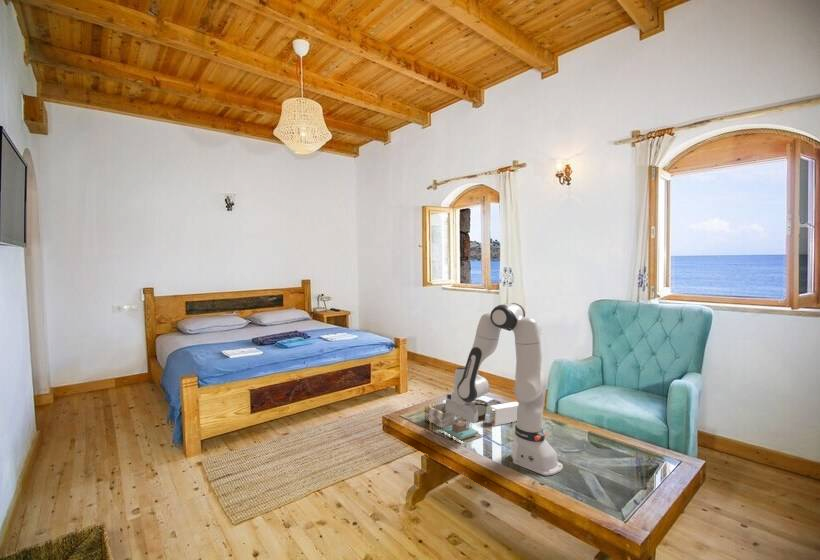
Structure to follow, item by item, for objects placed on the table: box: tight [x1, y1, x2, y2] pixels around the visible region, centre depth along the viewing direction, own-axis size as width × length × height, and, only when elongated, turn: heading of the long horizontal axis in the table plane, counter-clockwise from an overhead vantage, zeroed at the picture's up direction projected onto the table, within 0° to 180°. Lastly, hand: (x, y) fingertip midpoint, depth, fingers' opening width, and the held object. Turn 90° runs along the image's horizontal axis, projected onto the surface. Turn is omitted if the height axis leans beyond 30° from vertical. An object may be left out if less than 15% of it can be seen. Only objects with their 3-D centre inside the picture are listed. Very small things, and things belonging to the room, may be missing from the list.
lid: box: [442, 420, 479, 440], centre depth 202 cm, size 13×13×5 cm
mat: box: [461, 434, 482, 443], centre depth 202 cm, size 16×14×1 cm
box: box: [427, 402, 461, 429], centre depth 217 cm, size 12×12×8 cm
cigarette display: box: [488, 401, 519, 427], centre depth 221 cm, size 20×6×9 cm, turn 117°
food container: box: [472, 398, 489, 422], centre depth 225 cm, size 12×6×10 cm, turn 84°
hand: (460, 425), depth 202 cm, fingers open, 7 cm apart
